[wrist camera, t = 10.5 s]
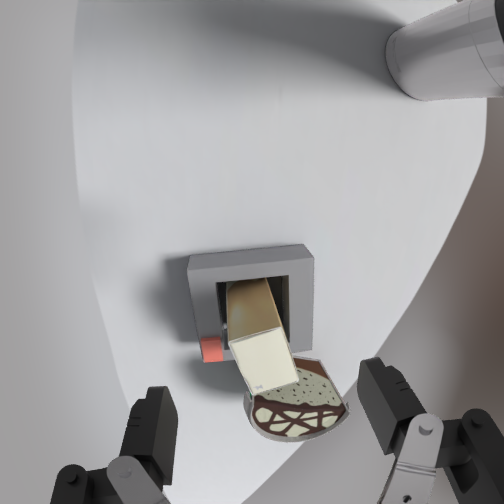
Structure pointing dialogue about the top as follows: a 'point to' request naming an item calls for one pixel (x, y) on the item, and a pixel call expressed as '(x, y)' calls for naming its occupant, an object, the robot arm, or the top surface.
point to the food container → (298, 406)
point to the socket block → (250, 267)
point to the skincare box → (258, 336)
